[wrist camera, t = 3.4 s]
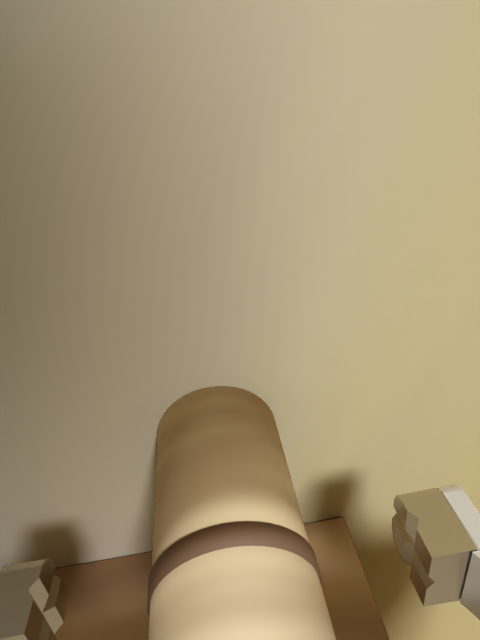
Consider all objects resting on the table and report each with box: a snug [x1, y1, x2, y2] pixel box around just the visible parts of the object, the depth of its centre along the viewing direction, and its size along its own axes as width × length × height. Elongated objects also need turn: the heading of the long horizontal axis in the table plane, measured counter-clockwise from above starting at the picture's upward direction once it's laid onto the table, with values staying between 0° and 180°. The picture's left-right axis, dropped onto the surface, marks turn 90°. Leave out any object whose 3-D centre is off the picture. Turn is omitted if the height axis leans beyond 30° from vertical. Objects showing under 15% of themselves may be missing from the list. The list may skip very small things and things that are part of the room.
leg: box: [147, 386, 336, 640], centre depth 11 cm, size 4×4×8 cm
